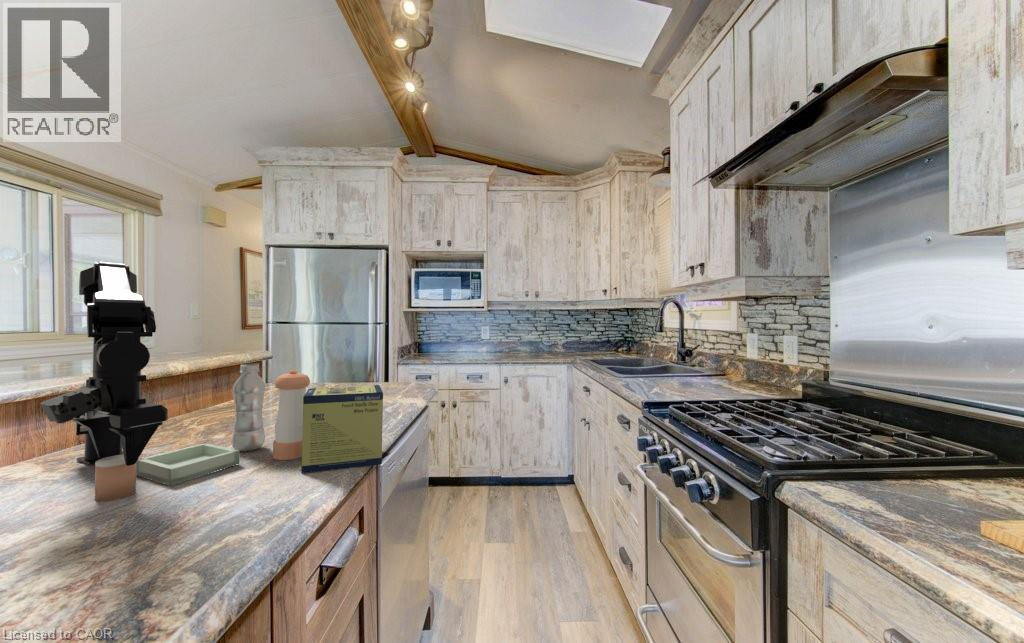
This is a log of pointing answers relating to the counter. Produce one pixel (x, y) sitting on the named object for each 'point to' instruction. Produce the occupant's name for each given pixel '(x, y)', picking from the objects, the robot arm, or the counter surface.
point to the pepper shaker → (290, 415)
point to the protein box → (342, 428)
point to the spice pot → (114, 478)
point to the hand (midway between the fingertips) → (116, 461)
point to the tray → (186, 463)
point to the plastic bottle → (248, 409)
